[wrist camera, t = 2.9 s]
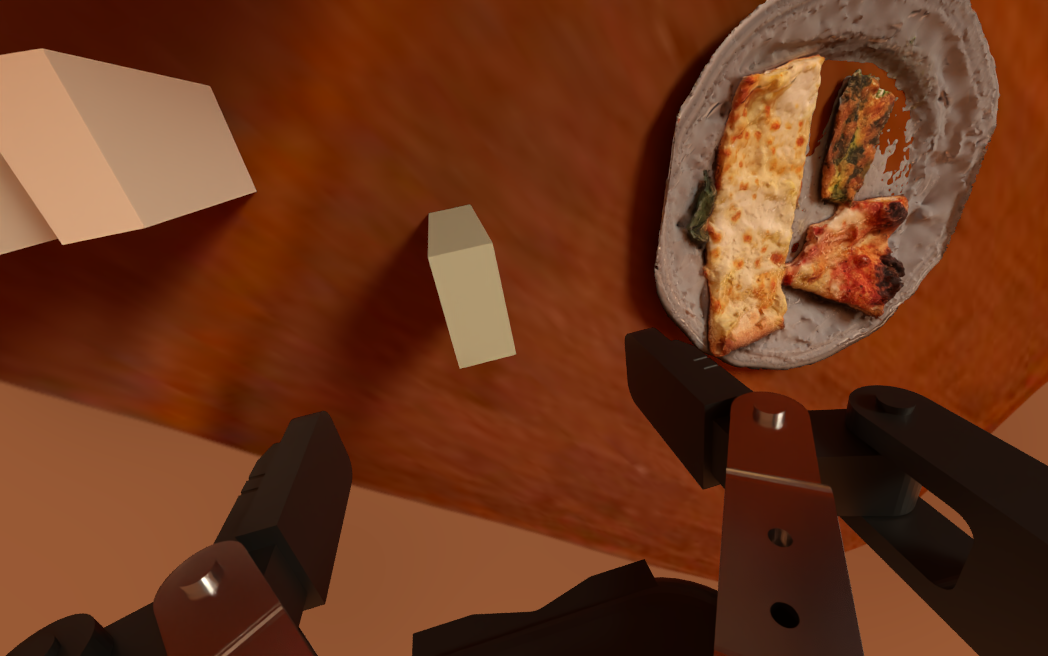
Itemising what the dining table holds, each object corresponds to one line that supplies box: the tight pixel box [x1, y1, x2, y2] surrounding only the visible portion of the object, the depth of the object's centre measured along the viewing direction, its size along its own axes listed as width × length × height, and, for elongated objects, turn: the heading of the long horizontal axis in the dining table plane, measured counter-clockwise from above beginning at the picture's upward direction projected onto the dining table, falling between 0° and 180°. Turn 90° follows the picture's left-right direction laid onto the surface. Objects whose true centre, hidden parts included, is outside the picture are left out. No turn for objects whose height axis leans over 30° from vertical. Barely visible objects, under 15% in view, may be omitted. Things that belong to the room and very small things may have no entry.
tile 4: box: [0, 48, 257, 245], centre depth 17 cm, size 2×5×10 cm, turn 11°
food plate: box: [654, 0, 1000, 370], centre depth 28 cm, size 25×23×4 cm
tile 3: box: [0, 153, 58, 255], centre depth 17 cm, size 2×5×10 cm, turn 11°
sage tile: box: [428, 205, 516, 369], centre depth 22 cm, size 2×5×10 cm, turn 11°
